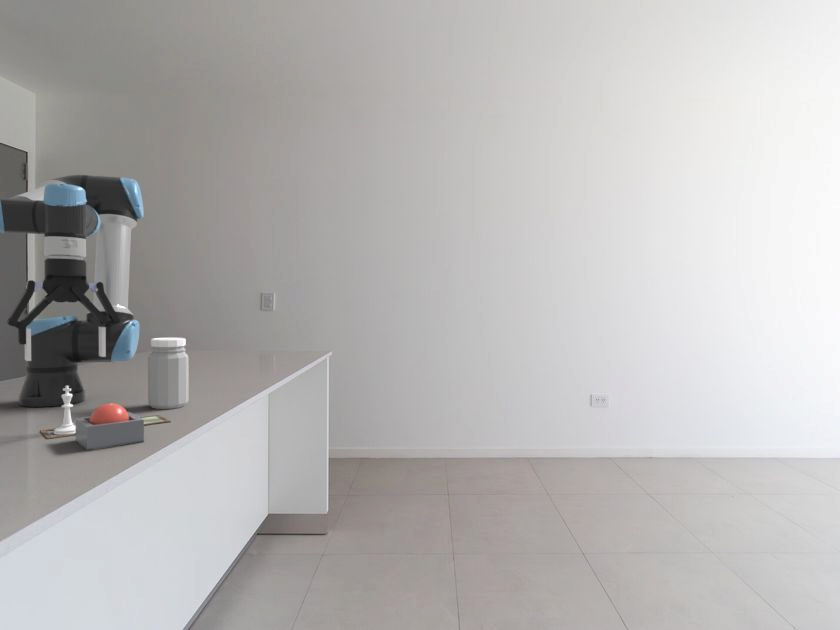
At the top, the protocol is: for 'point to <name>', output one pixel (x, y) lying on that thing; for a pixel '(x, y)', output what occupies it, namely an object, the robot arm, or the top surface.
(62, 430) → the chess piece
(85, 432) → the housing
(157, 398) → the jar
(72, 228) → the robot arm
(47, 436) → the brown wooden flat frame
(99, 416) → the coral red ball
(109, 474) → the top surface
